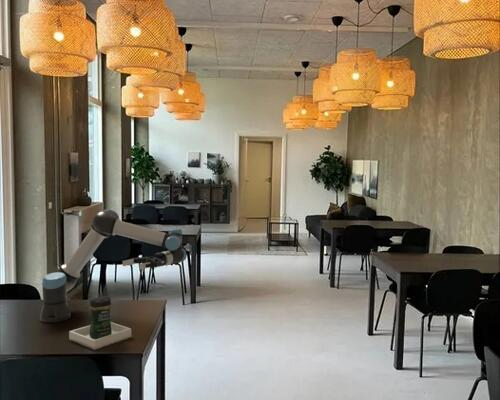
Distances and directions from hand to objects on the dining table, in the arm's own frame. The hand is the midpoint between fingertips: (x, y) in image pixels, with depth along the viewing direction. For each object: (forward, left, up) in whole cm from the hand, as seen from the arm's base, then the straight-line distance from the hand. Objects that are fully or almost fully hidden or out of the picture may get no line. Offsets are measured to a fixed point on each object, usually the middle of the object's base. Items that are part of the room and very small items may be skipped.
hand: (131, 265), depth 240 cm
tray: (+7, -24, -30) cm, 39 cm away
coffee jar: (+7, -24, -29) cm, 38 cm away
